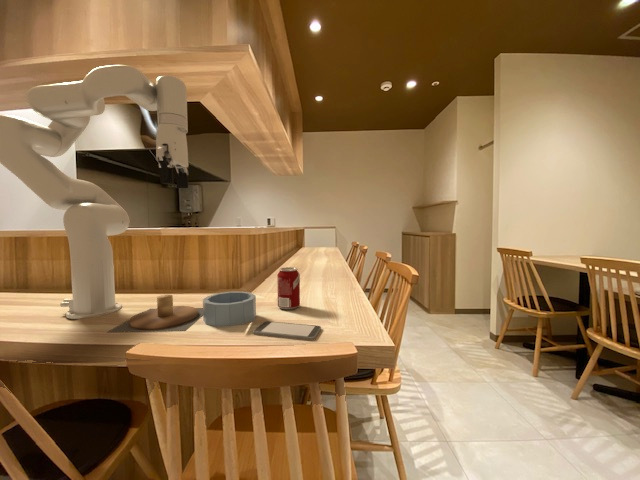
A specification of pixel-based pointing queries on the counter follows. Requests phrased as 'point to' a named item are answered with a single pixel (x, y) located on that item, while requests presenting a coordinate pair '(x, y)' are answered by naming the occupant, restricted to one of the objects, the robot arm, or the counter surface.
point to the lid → (163, 315)
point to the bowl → (229, 309)
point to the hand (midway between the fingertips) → (175, 185)
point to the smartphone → (288, 330)
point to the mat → (183, 327)
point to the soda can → (288, 288)
